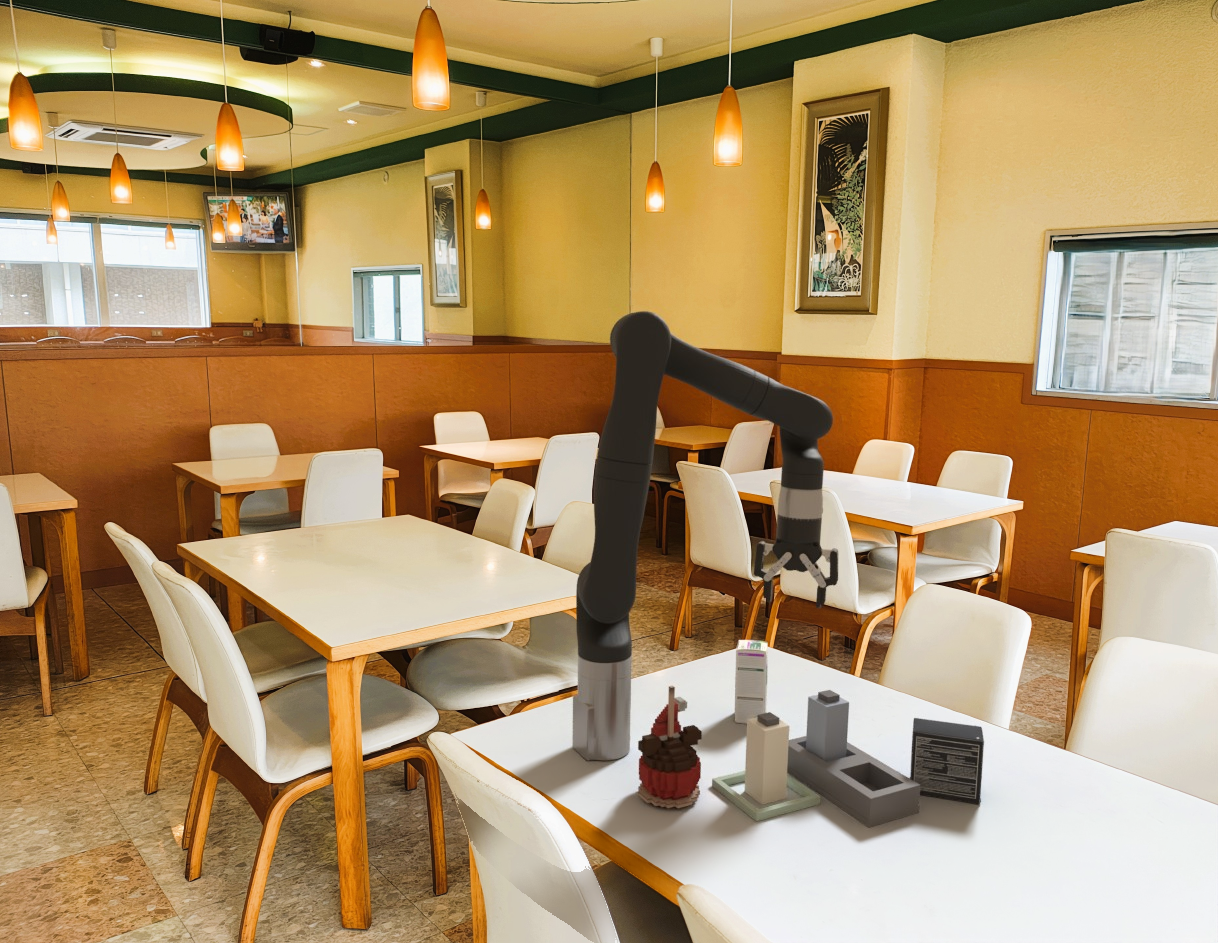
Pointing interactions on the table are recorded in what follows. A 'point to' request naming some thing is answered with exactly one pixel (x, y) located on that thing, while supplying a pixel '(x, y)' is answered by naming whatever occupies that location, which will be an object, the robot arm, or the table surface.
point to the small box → (947, 760)
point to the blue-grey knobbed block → (827, 725)
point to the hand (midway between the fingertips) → (793, 604)
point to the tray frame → (771, 811)
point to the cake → (670, 759)
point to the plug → (766, 758)
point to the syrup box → (750, 679)
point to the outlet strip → (856, 783)
